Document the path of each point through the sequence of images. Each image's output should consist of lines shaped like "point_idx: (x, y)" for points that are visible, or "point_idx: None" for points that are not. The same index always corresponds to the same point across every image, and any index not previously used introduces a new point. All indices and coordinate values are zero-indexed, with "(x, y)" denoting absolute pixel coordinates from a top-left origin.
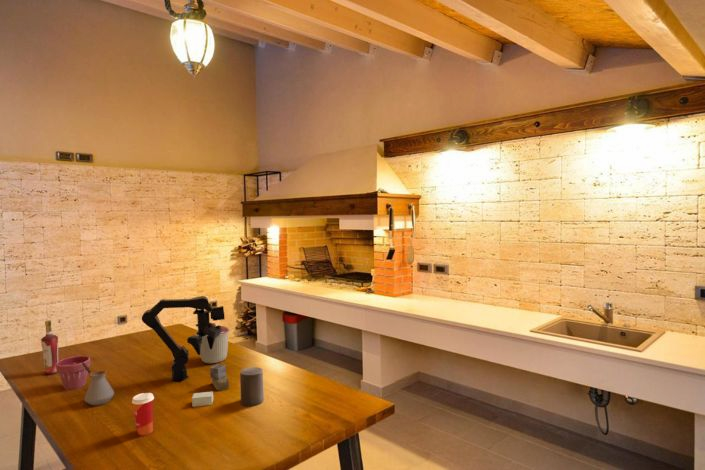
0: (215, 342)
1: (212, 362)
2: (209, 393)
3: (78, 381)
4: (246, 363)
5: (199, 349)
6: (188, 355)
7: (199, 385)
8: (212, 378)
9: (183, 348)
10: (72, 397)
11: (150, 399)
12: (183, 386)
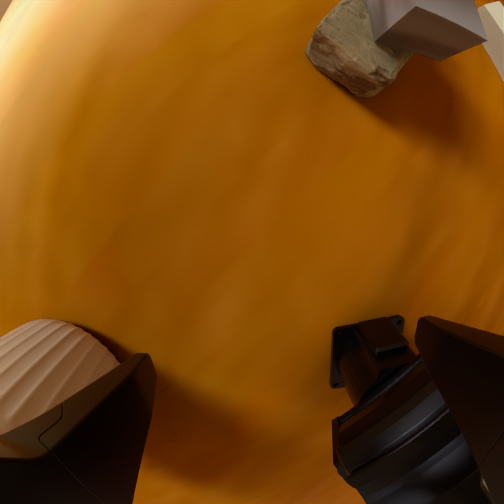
0: (26, 419)
1: (109, 352)
2: (497, 13)
3: None
4: (17, 161)
5: (501, 337)
6: (382, 428)
7: (410, 166)
8: (385, 86)
9: (474, 467)
10: None
11: None
12: (440, 247)
